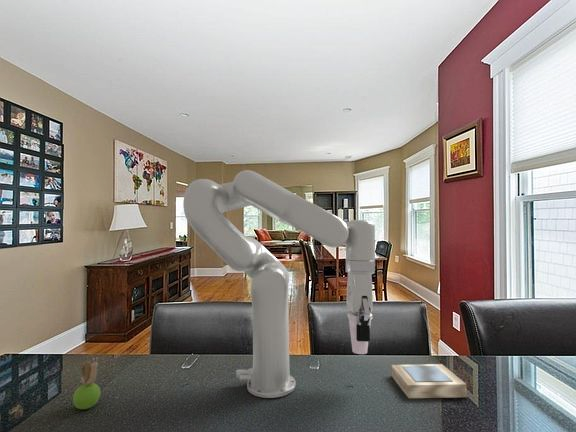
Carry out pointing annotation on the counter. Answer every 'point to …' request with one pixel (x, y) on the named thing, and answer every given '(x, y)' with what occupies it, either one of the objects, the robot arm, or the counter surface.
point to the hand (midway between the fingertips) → (359, 335)
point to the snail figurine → (87, 387)
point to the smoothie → (357, 346)
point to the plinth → (428, 381)
